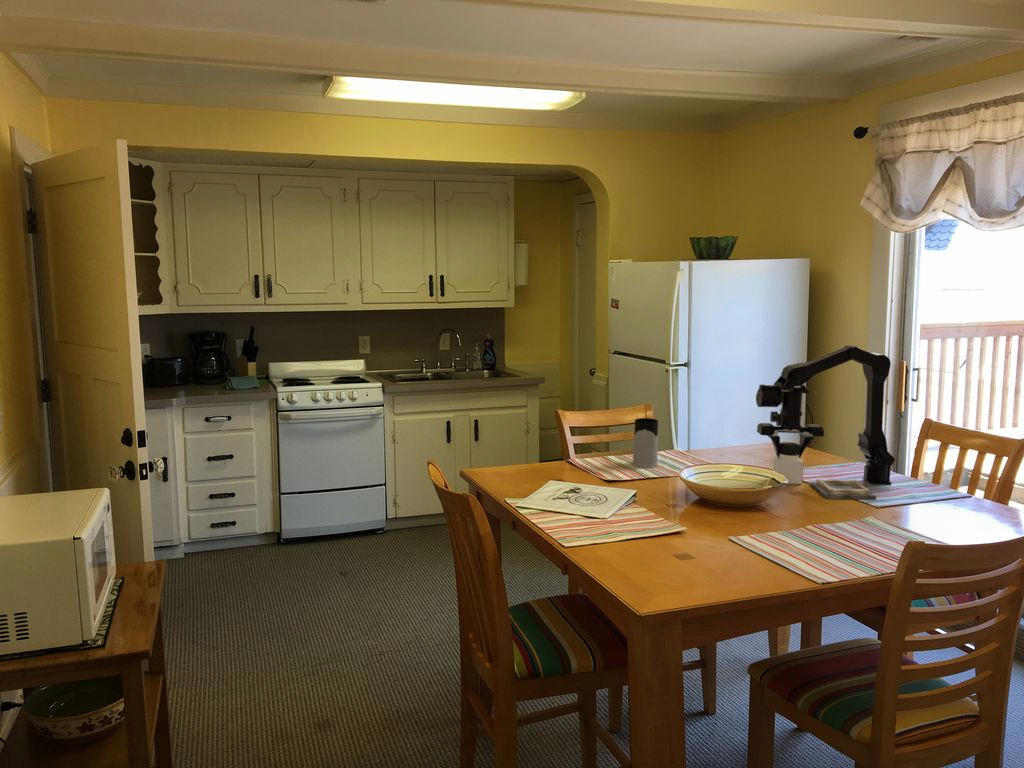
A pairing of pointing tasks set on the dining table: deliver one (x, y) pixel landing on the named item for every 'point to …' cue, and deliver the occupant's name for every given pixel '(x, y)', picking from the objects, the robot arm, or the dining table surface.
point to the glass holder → (645, 443)
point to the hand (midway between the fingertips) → (788, 457)
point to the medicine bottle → (789, 462)
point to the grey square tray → (842, 489)
